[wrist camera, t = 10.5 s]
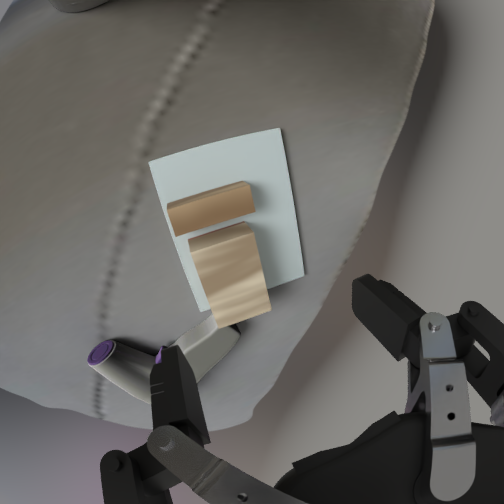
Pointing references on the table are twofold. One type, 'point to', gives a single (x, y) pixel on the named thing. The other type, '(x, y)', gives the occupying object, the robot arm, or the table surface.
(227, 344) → the infrared thermometer
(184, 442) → the robot arm
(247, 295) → the wooden block
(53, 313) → the table surface
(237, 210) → the rail
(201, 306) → the silicone mat
